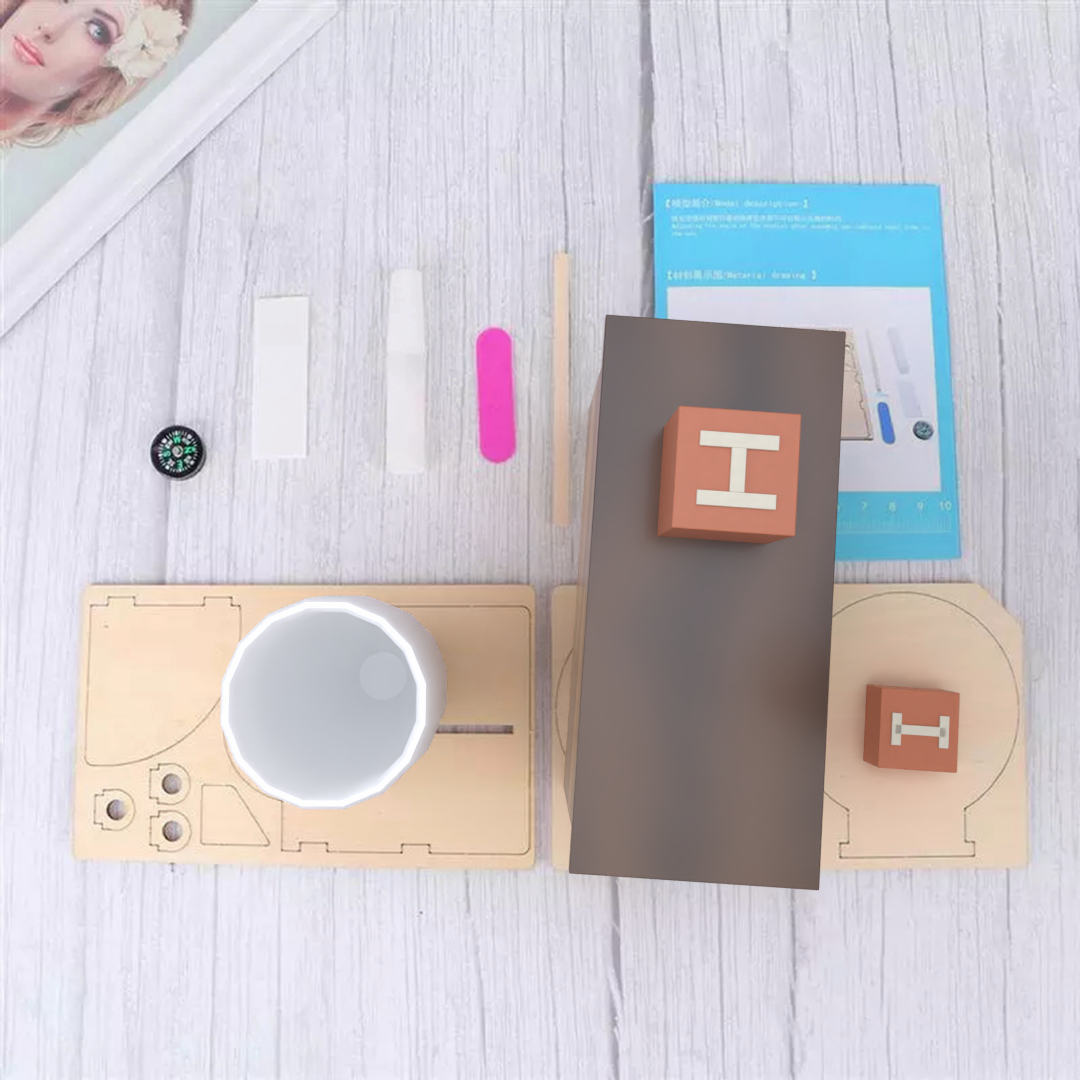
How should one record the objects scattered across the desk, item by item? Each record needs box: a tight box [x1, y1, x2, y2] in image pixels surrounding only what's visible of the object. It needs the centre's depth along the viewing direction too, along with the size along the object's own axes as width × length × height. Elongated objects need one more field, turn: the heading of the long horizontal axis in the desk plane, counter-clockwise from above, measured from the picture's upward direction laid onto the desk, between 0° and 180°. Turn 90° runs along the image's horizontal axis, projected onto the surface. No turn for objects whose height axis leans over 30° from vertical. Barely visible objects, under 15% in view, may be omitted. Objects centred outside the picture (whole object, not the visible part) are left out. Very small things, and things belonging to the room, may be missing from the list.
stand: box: [562, 366, 602, 825], centre depth 55 cm, size 10×25×22 cm, turn 176°
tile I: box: [862, 684, 961, 774], centre depth 63 cm, size 5×5×5 cm
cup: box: [219, 594, 448, 810], centre depth 54 cm, size 10×10×22 cm
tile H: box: [657, 406, 801, 544], centre depth 41 cm, size 5×5×5 cm
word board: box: [568, 314, 847, 891], centre depth 43 cm, size 11×25×1 cm, turn 176°
